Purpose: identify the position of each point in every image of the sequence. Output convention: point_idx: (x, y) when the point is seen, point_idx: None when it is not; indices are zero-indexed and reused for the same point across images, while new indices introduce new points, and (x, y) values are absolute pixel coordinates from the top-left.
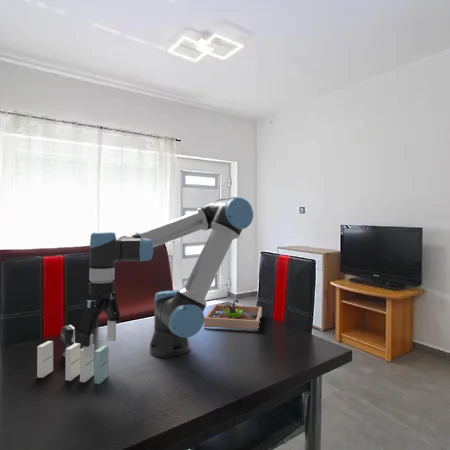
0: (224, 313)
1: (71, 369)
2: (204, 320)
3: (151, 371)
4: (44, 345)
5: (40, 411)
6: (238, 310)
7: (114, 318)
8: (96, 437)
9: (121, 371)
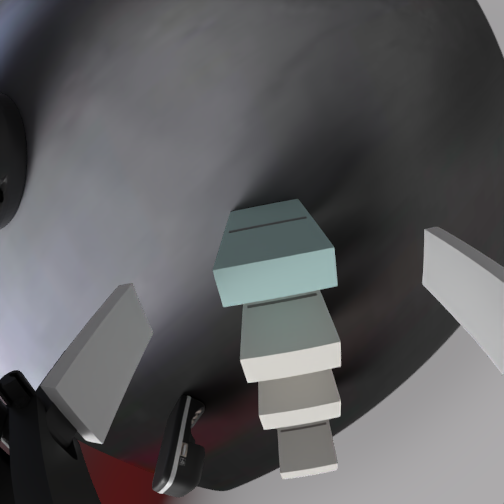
0: None
1: None
2: None
3: (122, 79)
4: (325, 466)
5: None
6: None
7: (41, 419)
8: (488, 50)
9: (171, 191)
